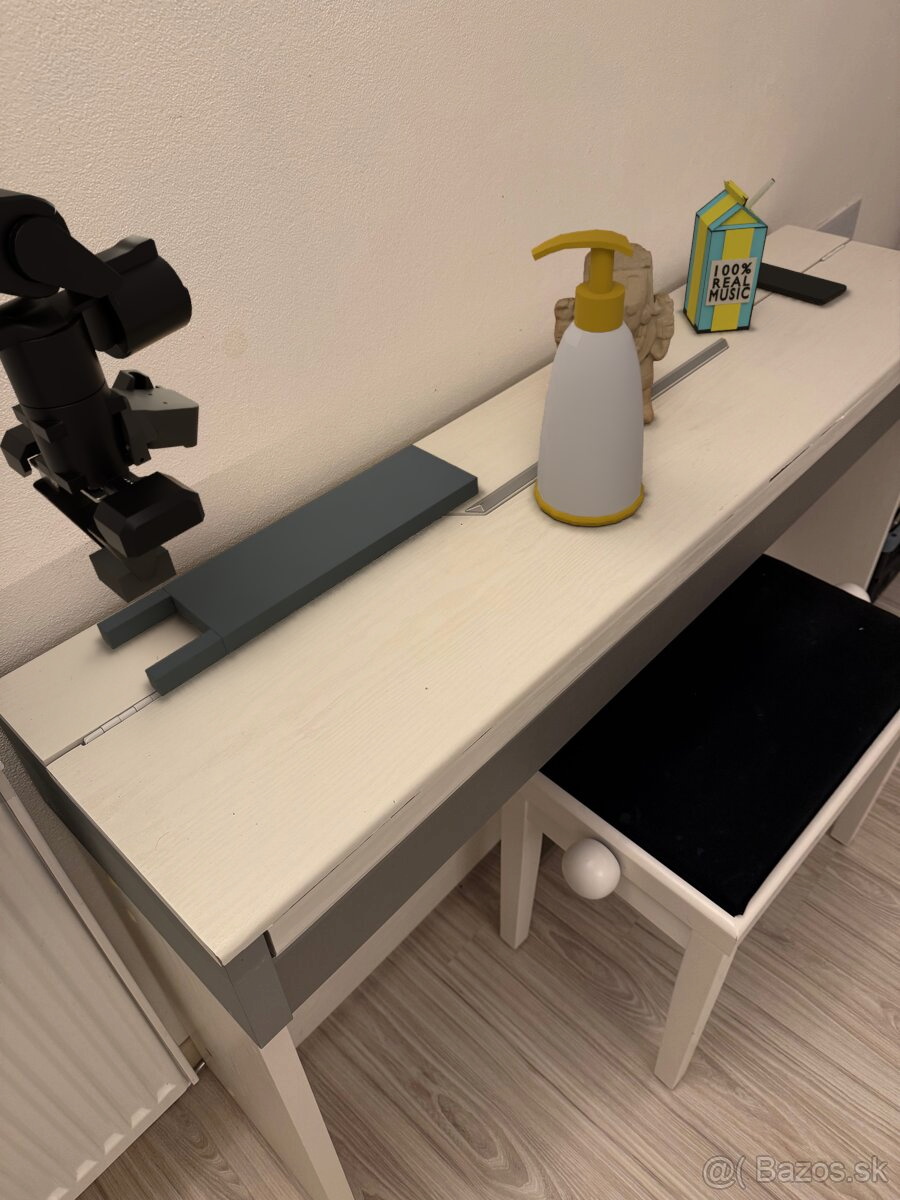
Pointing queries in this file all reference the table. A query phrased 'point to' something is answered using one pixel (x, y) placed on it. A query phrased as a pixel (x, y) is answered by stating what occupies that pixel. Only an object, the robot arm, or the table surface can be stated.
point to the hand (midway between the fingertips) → (132, 565)
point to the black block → (130, 573)
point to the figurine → (633, 314)
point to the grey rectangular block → (293, 560)
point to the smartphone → (798, 284)
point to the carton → (725, 262)
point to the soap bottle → (592, 398)
